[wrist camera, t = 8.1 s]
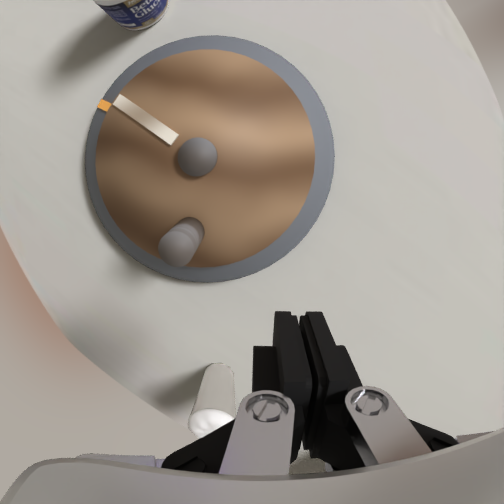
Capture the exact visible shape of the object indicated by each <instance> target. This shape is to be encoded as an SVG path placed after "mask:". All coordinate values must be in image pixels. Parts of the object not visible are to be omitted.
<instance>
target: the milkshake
mask: <svg viewBox="0 0 504 504" xmlns="http://www.w3.org/2000/svg"><path fill="white" fill-rule="evenodd" d="M235 418H236V406H235V384H234V373H233V371H232V369H231V368H230V367H229V366H227V365H225V364H223V363H213V364H211V365H210V366H208V367H207V368H206V370H205V373H204V376H203V379H202V383H201V386H200V389H199V392H198V395H197V398H196V400H195V403H194V406H193V408H192V411H191V414H190V417H189V419H188V428H189V429H190V431H191V432H192V433H193V434H194V435H195V436H196V437H198V438H202V437H204V436H206V435H207V434H209V433H211V432H213V431H214V430H216V429H218V428H220V427H221V426H223V425H225V424H227V423H228V422H230V421H232V420H233V419H235Z"/></svg>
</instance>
